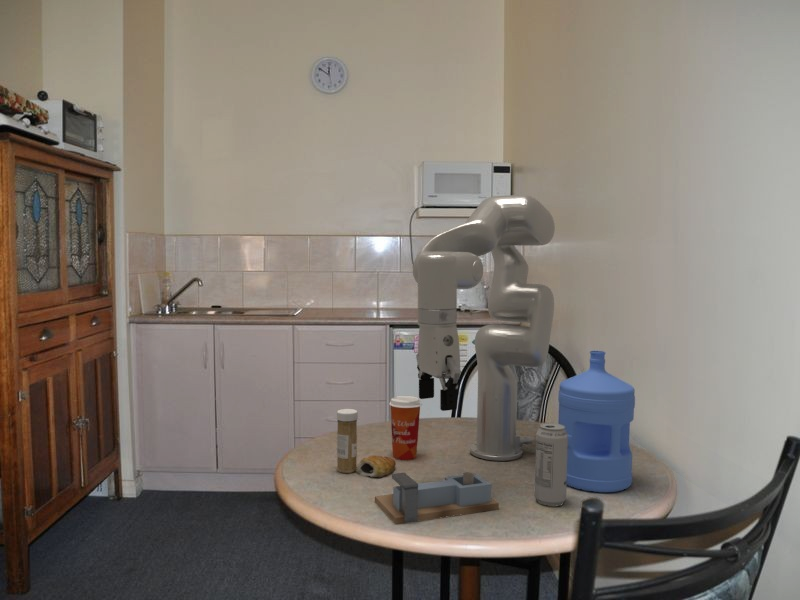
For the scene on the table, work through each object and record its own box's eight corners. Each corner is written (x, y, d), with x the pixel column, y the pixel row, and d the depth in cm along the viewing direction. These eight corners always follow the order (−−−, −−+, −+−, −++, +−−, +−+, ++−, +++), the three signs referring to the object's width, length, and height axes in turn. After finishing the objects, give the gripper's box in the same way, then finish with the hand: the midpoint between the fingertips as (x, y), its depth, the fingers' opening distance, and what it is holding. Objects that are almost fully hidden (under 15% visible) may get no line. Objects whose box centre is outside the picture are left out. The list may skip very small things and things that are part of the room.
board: (471, 489, 131) (471, 460, 130) (498, 509, 121) (499, 477, 120) (374, 502, 123) (375, 471, 123) (395, 524, 113) (395, 491, 112)
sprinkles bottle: (360, 471, 141) (361, 411, 140) (342, 475, 139) (343, 413, 138) (350, 465, 145) (351, 407, 144) (332, 469, 142) (333, 409, 142)
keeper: (403, 507, 120) (404, 472, 120) (417, 521, 114) (418, 483, 114) (391, 509, 120) (391, 473, 119) (404, 523, 113) (405, 485, 113)
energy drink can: (571, 505, 123) (574, 429, 122) (543, 508, 121) (546, 430, 120) (555, 494, 129) (557, 421, 128) (528, 497, 127) (530, 423, 126)
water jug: (541, 473, 142) (545, 348, 140) (599, 466, 147) (603, 345, 146) (585, 497, 127) (590, 358, 126) (648, 489, 133) (653, 355, 131)
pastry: (379, 464, 147) (379, 447, 147) (403, 470, 143) (403, 453, 143) (353, 474, 140) (354, 457, 139) (378, 481, 136) (379, 463, 135)
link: (474, 490, 127) (474, 473, 127) (490, 502, 121) (491, 484, 121) (389, 501, 120) (389, 483, 120) (402, 514, 114) (403, 495, 114)
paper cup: (383, 459, 150) (384, 400, 149) (395, 450, 157) (396, 394, 156) (414, 463, 147) (415, 403, 146) (425, 454, 154) (426, 397, 154)
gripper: (476, 321, 117) (475, 412, 119) (435, 311, 133) (435, 392, 135) (439, 323, 114) (439, 417, 116) (401, 313, 130) (402, 395, 132)
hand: (437, 403), depth 125 cm, fingers open, 9 cm apart
